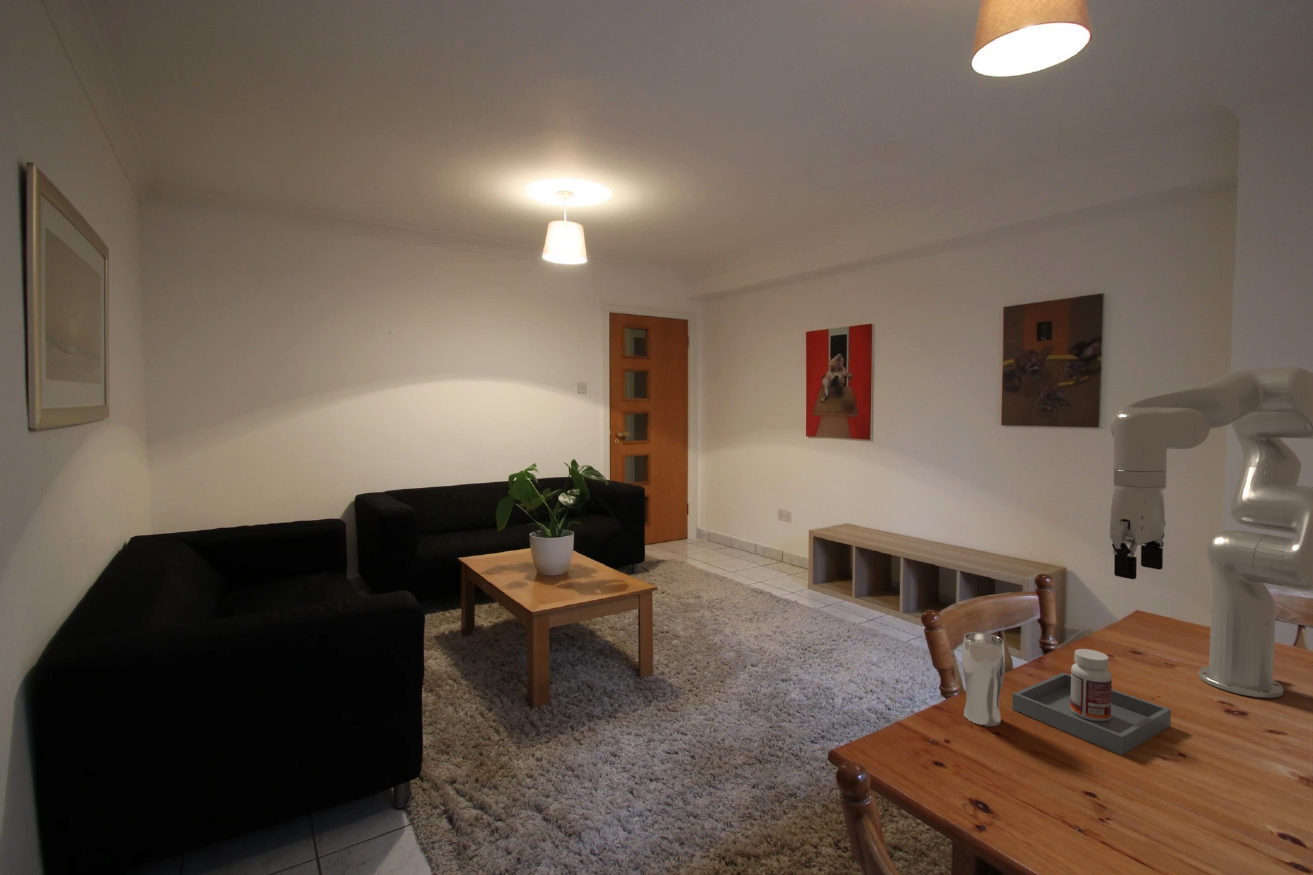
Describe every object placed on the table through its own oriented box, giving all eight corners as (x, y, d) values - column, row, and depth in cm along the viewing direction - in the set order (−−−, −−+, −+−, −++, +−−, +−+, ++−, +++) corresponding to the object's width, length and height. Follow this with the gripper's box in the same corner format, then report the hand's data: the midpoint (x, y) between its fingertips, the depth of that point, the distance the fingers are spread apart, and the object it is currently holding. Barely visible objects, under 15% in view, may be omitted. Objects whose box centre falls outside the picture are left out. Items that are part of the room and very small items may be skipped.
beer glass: (1001, 713, 116) (1003, 634, 115) (1005, 731, 110) (1007, 648, 109) (960, 706, 119) (962, 629, 118) (961, 722, 112) (963, 642, 112)
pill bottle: (1116, 716, 113) (1118, 655, 113) (1101, 726, 110) (1103, 663, 109) (1079, 703, 118) (1080, 645, 118) (1063, 712, 115) (1065, 652, 114)
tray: (1062, 687, 126) (1063, 672, 126) (1170, 726, 111) (1170, 709, 111) (1012, 709, 117) (1012, 693, 117) (1121, 755, 102) (1122, 736, 102)
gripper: (1138, 472, 119) (1137, 560, 120) (1091, 482, 111) (1090, 576, 112) (1186, 476, 112) (1185, 568, 114) (1140, 486, 104) (1139, 586, 105)
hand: (1138, 572), depth 113 cm, fingers open, 9 cm apart
